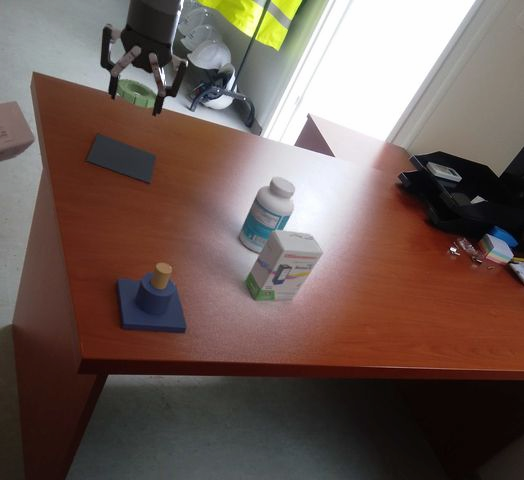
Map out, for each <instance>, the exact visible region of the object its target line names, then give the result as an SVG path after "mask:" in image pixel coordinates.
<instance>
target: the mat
mask: <svg viewBox="0 0 524 480" xmlns="http://www.w3.org/2000/svg"><path fill="white" fill-rule="evenodd" d="M156 160H157V155H156V154H153V153H151V152H149V151H146V150H143V149H141V148H139V147H136V146H132V145H130V144H127V143H125V142H123V141H119V140H117V139H114V138H112V137H109V136H107V135H104V134H101V133H97V135H96V137H95V139H94V142H93V143H92V146H91V149H90V150H89V153H88V155H87V158H86V160H85V162H87V163H89V164H93V165H95V166H98V167H101V168H104V169H106V170H108V171H109V170H110V171H112V172H115V173H117V174H120V175H122V176H123V175H124V176H126V177H129V178H132V179H135V180H137V181H139V182H143V183H145V184H147V185H148V184H149V185H150V184H151V182H152V177H153V174H154V173H153V172H154V168H155V163H156Z"/></svg>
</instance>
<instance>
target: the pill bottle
mask: <svg viewBox="0 0 524 480" xmlns="http://www.w3.org/2000/svg"><path fill="white" fill-rule="evenodd" d="M295 193H296V186H295V185H294V183H292V182H291V181H289V180H288V179H286V178H284V177H282V176H273V177H272V178H271V180H270V182H269V185H264V186H262V187H260V188H259V189H258V191H257V192H256V195H255V197H254V200H253V202H252V203H251V207H250V208H249V211H248V213H247V214H246V217H245V220H244V222H243V224H242V227H241V229H240V231H239V239H240V241H241V243H242V245H244V247H246V248H248V249H249V250H251V251H252V252H255V253H257V254H260V252H261V251H262V249H263V247H264V245H265V243H266V241H267V240H268V238H269V236H270V234H271V232H272V231H275V230H284V229H285V228H286V226H287V224H288V221H289V220H290V218H291V216H292V214H293V212H294V210H295V202H294V199H293V198H292V197H293V196H294V194H295Z"/></svg>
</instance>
